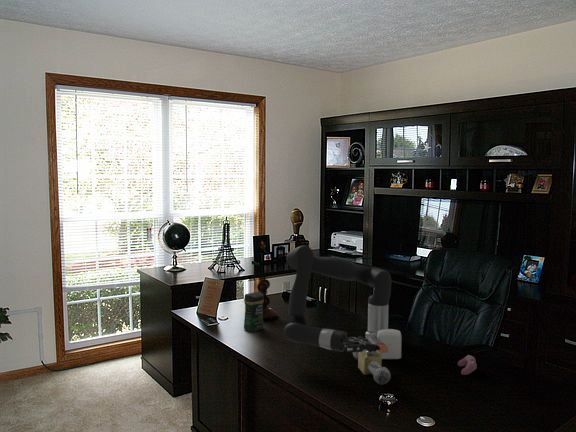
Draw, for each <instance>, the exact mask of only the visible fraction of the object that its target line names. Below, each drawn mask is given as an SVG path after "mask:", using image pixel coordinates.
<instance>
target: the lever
mask: <svg viewBox="0 0 576 432" xmlns="http://www.w3.org/2000/svg"><path fill="white" fill-rule="evenodd" d="M365 339H366V340H369V341H370V342H371V343H372V344H376V345H377V350H378V351H379V353H388V347H387V346H386V345H385V344H384V343H383V342H381V341H380V340H379V339H378V338H377V337H376V336H375V332H373V331H368V330H367V331H365Z"/></svg>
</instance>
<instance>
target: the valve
mask: <svg viewBox="0 0 576 432" xmlns="http://www.w3.org/2000/svg"><path fill="white" fill-rule="evenodd" d="M368 343H371V342H370V341H369V340H368ZM371 344H372V343H371ZM352 355H353V357H354V359H355V360H356V361H357V368H358V369H359V370H360V372H361V373H362V374H363V375H364V376H365V375H372V376H373V377H372V378H373V380H374V382H376V384H378V385H381V386H384V385H386V384H387V383H389V382H390V380H391V377H392V375H391V371H390V370H389V369H388V368H387V367H385V366H382V361H383V359H382V356H381V355H380V354H379V353H378V352H377V351H369V350H365V351H364V350H363V352H352Z"/></svg>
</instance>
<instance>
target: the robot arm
mask: <svg viewBox="0 0 576 432" xmlns="http://www.w3.org/2000/svg"><path fill="white" fill-rule="evenodd" d="M285 259H286V263H287V265H288V267H290V268H291V269H292V270H295V271H296V275H295V278H294V282H293V285H292V288H291V291H290V294H289V298H288V299H289V300H288V311H287V312H288V316H289V318H290V320H291V321H290V322H289V323H287V324H286V325H285V326H284V328H283V334H284V337H285V338H286V339H287V340H288V341H290V342H294V343H298V344H300V343H304V344H305V343H306V344H308V345H311V346H314V347H318V348H319V347H320V348H324V349H326V350H330V351H335V352H340V353H343V352H345V351H346V352H347V353H348V354H349V353H353V352H363V350H364V351H365V350H369V351H377V345H376V344H371V343H368V340H367V339H366V337H363V336H362V335H357V337H355V336H348V333H347V332H346V331H342V330H336V329H332V328H331V329H330V328H322V327H321V328H320V327H316V326H310V325H307V318H306V310H307V309H306V307H307V296H308V288H309V283H310V278H311V273H315V274H319V275H322V276H326V277H330V278H333V279H337V280H340V281H346V282H347V281H349V282H351V281H355V282H359V283H362V284H364V285H366V286H369V287H371V288H373V294H372V295H370V296H369V297H368V300H367V301H368V302H367V304H368V306H367V331H373V332H375V336H376V337H377V334H378V331H380V330H384V329H389V302H390V299H391V294H392V293H391V292H392V276H391V274H390V272H388V271H387V270H385V269H381V268H378V267H373V266H372V267H369V266H363V265H359V264H357V263H355V262H353V261H351V260H348V259H345V258H341V257H337V256H336V257H334V256H316V255H315V254H314V251H313V249H312V248H311V247H310V246H308V245H305V244H304V245H300V246H297V247H295V248H293V249H292V250H290V251H288V253H287V254H286V258H285Z"/></svg>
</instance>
